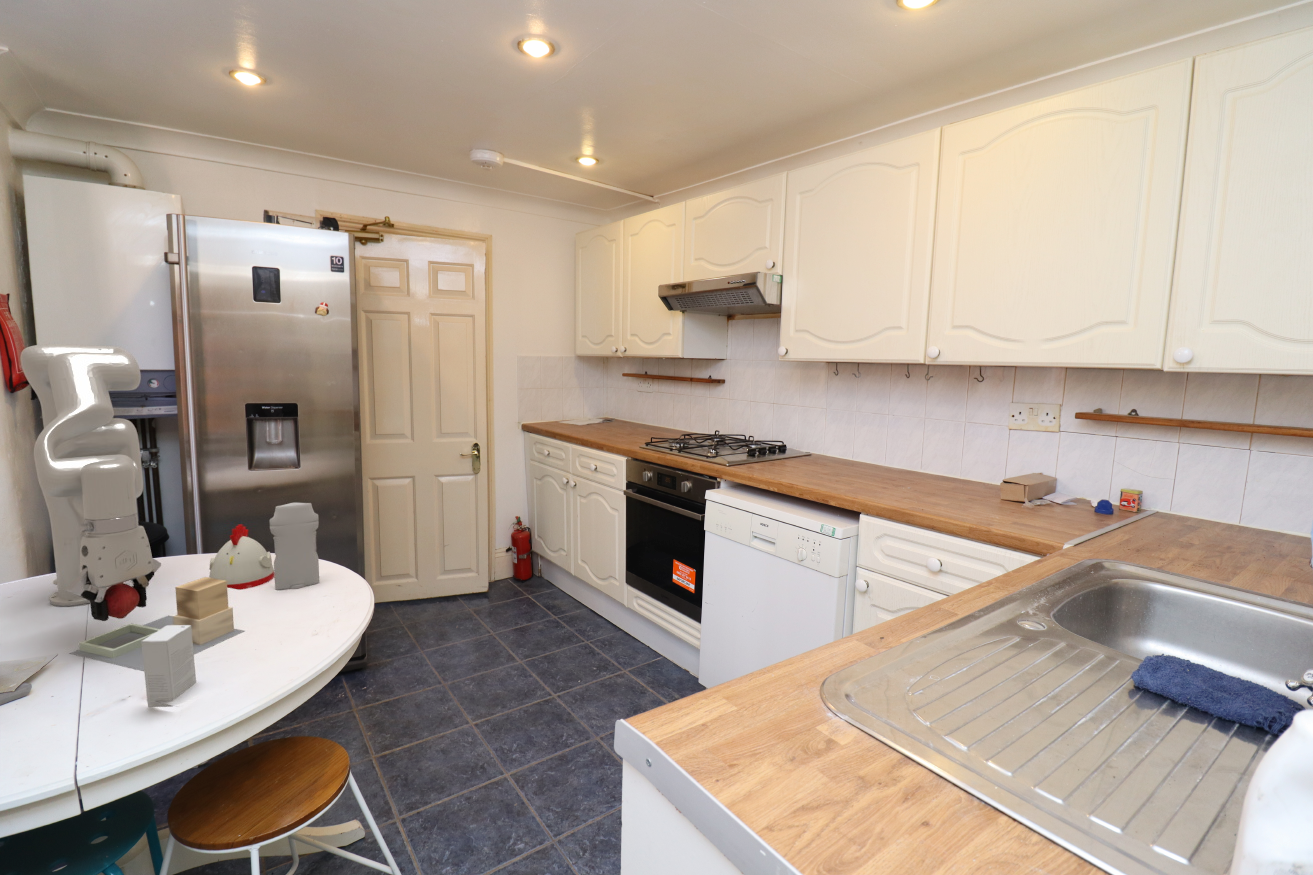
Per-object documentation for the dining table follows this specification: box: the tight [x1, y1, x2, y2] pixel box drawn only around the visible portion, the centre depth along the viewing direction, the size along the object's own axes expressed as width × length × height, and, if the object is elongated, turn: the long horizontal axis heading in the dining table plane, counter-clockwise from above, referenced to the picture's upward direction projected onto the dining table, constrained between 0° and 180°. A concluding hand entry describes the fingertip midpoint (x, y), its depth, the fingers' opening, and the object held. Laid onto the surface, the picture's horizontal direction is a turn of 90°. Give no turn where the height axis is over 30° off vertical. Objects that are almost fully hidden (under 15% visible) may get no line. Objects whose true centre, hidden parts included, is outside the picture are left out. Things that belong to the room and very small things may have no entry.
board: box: [69, 615, 246, 672], centre depth 119 cm, size 22×18×1 cm
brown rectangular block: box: [172, 606, 235, 645], centre depth 122 cm, size 7×7×5 cm
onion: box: [103, 582, 139, 620], centre depth 117 cm, size 6×6×8 cm
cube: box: [174, 576, 230, 620], centre depth 122 cm, size 6×6×6 cm
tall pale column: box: [268, 502, 320, 591], centre depth 151 cm, size 11×4×22 cm, turn 125°
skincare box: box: [141, 625, 197, 708], centre depth 102 cm, size 6×4×12 cm
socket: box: [78, 622, 160, 658], centre depth 118 cm, size 9×9×2 cm
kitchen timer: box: [208, 523, 275, 591], centre depth 154 cm, size 14×14×15 cm
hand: (120, 611), depth 117 cm, fingers closed on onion, 5 cm apart
